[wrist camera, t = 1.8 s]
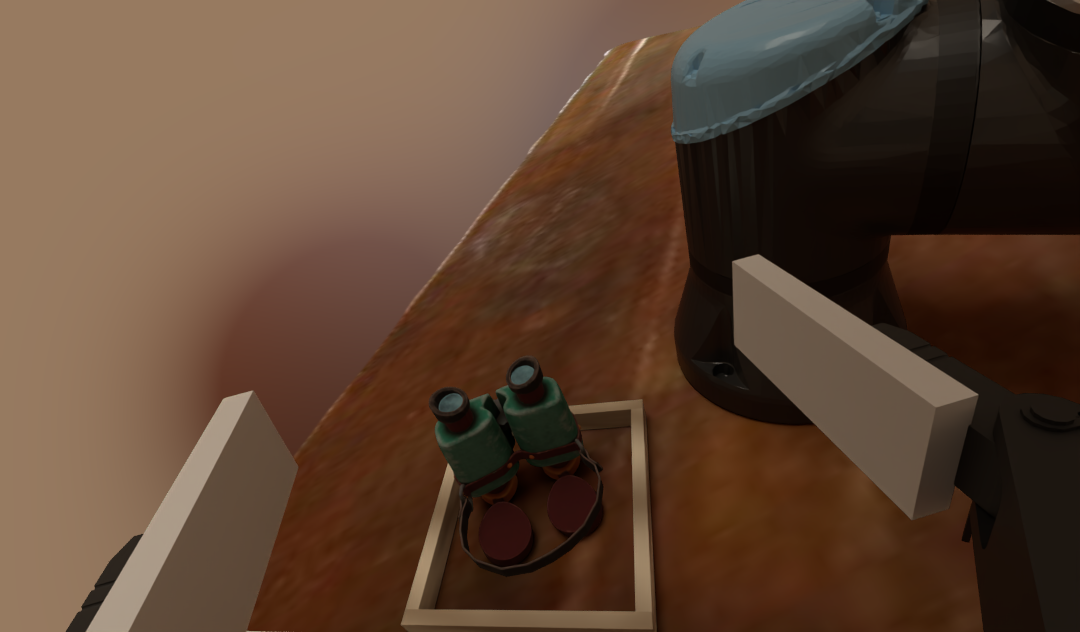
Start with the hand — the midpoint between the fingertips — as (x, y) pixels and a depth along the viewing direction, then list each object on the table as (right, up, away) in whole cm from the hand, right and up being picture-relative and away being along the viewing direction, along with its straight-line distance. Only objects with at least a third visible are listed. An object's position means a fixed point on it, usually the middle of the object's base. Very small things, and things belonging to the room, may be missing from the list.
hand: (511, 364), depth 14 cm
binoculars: (+1, -12, +19) cm, 23 cm away
